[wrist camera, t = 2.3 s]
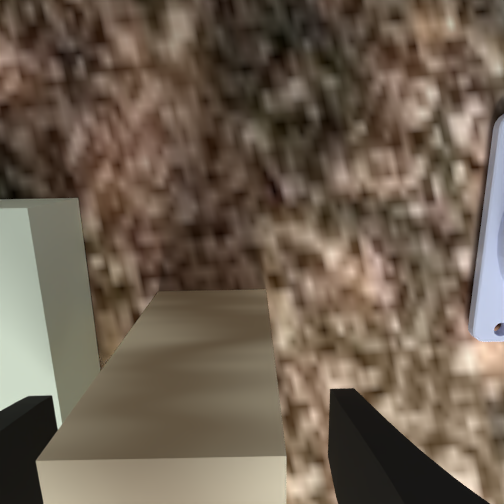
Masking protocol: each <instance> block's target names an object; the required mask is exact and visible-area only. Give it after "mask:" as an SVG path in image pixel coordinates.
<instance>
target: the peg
mask: <svg viewBox="0 0 504 504" xmlns="http://www.w3.org/2000/svg"><path fill="white" fill-rule="evenodd" d="M36 466H37V471H38V476H39V482H40V487H41V492H42V498H43V503H44V504H286V449H285V441H284V433H283V424H282V416H281V408H280V400H279V392H278V383H277V375H276V367H275V359H274V350H273V342H272V334H271V326H270V318H269V309H268V301H267V293H266V289H252V290H201V291H158V292H157V294H156V295H155V297H154V298H153V299H152V301H151V302H150V303H149V305H148V306H147V308H146V309H145V310H144V312H143V313H142V315H141V316H140V317H139V319H138V320H137V321H136V323H135V324H134V326H133V327H132V328H131V330H130V331H129V332H128V334H127V335H126V337H125V338H124V339H123V341H122V342H121V344H120V345H119V346H118V348H117V349H116V350H115V352H114V353H113V355H112V356H111V357H110V359H109V360H108V361H107V363H106V364H105V366H104V367H103V368H102V370H101V371H100V373H99V374H98V375H97V377H96V378H95V379H94V381H93V382H92V384H91V385H90V386H89V388H88V389H87V391H86V392H85V393H84V395H83V396H82V397H81V399H80V400H79V402H78V403H77V404H76V406H75V407H74V408H73V410H72V411H71V413H70V414H69V415H68V417H67V418H66V420H65V421H64V422H63V424H62V425H61V426H60V428H59V429H58V431H57V432H56V433H55V435H54V436H53V438H52V439H51V440H50V442H49V443H48V444H47V446H46V447H45V449H44V450H43V451H42V453H41V454H40V455H39V457H38V458H37V460H36Z"/></svg>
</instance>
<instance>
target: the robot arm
mask: <svg viewBox="0 0 504 504" xmlns="http://www.w3.org/2000/svg"><path fill="white" fill-rule="evenodd" d="M499 323H501V327H500V328H499V329H498V330H497V331H494V328H495V326H496V325H497V324H499ZM468 330H469V332H470V334H471V335H472V336H473V337H475V338H476V339H477V340H479V341H483V342H501V341H504V114H503V115H502V116H500V117H499V118H498V119H497V121H496V122H495V125H494V128H493V134H492V142H491V150H490V158H489V166H488V174H487V182H486V189H485V197H484V205H483V213H482V221H481V229H480V237H479V244H478V252H477V260H476V268H475V276H474V284H473V292H472V299H471V307H470V315H469V323H468ZM57 431H58V428H57V422H56V416H55V410H54V404H53V398H52V395H45V396H27V397H25V398H23V399H21V400H19V401H17V402H15V403H14V404H12V405H10V406H8V407H6V408H5V409H3V410H1V411H0V504H44V503H43V498H42V492H41V487H40V482H39V476H38V471H37V466H36V460H37V458H38V457H39V455H40V454H41V453H42V451H43V450H44V449H45V447H46V446H47V444H48V443H49V442H50V440H51V439H52V438H53V436H54V435H55V433H56V432H57ZM328 458H329V463H330V468H331V474H332V479H333V483H334V488H335V493H336V498H337V501H338V504H490V503H488V502H487V501H485V500H484V499H482V498H481V497H480V496H478V495H477V494H475V493H474V492H473V491H471V490H470V489H468V488H467V487H466V486H464V485H463V484H462V483H460V482H459V481H458V480H457V479H455V478H454V477H453V476H451V475H450V474H449V473H448V472H446V471H445V470H444V469H443V468H441V467H440V466H439V465H438V464H436V463H435V462H434V461H433V460H432V459H430V458H429V457H428V456H427V455H425V454H424V453H423V452H422V451H421V450H420V449H418V448H417V447H416V446H415V445H414V444H413V443H411V442H410V441H409V440H408V439H407V438H406V437H405V436H404V435H403V434H401V433H400V432H399V431H398V430H397V429H396V428H395V427H394V426H393V425H392V424H391V423H389V422H388V421H387V420H386V419H385V418H384V417H383V416H382V415H381V414H380V413H379V412H378V411H377V410H376V409H375V408H374V407H373V406H372V405H371V404H370V403H369V402H367V401H366V400H365V399H364V398H363V397H362V396H361V395H360V394H359V393H358V392H357V391H356V390H355V389H354V388H351V389H330V413H329V442H328Z"/></svg>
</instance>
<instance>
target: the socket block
mask: <svg viewBox="0 0 504 504" xmlns="http://www.w3.org/2000/svg"><path fill="white" fill-rule="evenodd" d="M99 373H100V363H99V355H98V348H97V340H96V332H95V324H94V317H93V309H92V301H91V293H90V286H89V278H88V270H87V263H86V255H85V247H84V239H83V232H82V224H81V216H80V208H79V201H78V198H46V199H0V411H1V410H3V409H5V408H6V407H8V406H10V405H12V404H14V403H15V402H17V401H19V400H21V399H23V398H25V397H27V396H45V395H52V398H53V404H54V410H55V416H56V422H57V428H58V429H59V428H60V426H61V425H62V424H63V422H64V421H65V420H66V418H67V417H68V415H69V414H70V413H71V411H72V410H73V408H74V407H75V406H76V404H77V403H78V402H79V400H80V399H81V397H82V396H83V395H84V393H85V392H86V391H87V389H88V388H89V386H90V385H91V384H92V382H93V381H94V379H95V378H96V377H97V375H98V374H99Z"/></svg>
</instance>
